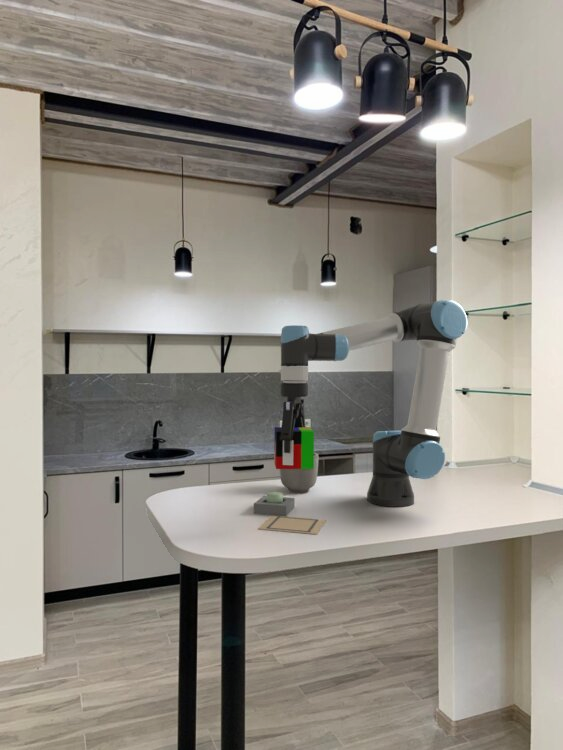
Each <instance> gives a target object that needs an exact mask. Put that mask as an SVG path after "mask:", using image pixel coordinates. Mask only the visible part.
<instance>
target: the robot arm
mask: <svg viewBox="0 0 563 750" xmlns="http://www.w3.org/2000/svg"><path fill="white" fill-rule="evenodd" d="M467 317H468V316H467V314H466V312H465V310H464V308H463V307H462V306H461V304H459V303H458V302H456V301H455V300H451V299H449V300H448V299H447V300H443V299H440V300H435V301H433V302H432V301H431V302H426V303H419V304H415V305H412V306H409V307H406V308H405V309H402V310H398V311H395V312H391V313H388V315H386V317H382V318H379V319H378V318H377V319H375V320H368V321H365V322H361V323H357V324H353V325H348V326H343V327H340V328H336V329H331V330H327V331H323V332H319V333H318V332H317V333H310V331H309V327H308V326H306V325H284V326H283V327H282V328H281V333H280V369H278V373H279V374H280V381H282V382H281V383H280V397H286V398H287V399H286V401H284V402H283V405H282V406H283V408H282V409H283V411H282V419H281V420H282V422H281V427H282V428H281V436H280V440H283V465H293V440H292V439H293V432H294V427H306V418H305V417H306V416H305V400H304V399H303V398H306V397H308V395H309V384H308V381H309V362H311V361H312V362H313V361H314V362H317V361H318V362H338V361H339V362H341V361H344V360H345V359H347V357H348V356H349V353H350V352H351V351H355V350H358V349H359V350H360V349H362V348H366V347H370V346H374V345H379V344H383V343H387V342H391V341H392V342H394V343H399V342H400V343H401V342H405V341H415V342H416V344H417V345H418V347H419V355H418V360H417V361H418V362H417V366H416V372H415V373H416V374H415V377H414V385H413V388H412V389H413V391H412V397H411V401H410V407H409V414H408V420H407V424H406V425H405V426H404V427H402V428H401V430H384V431H383V430H381V431H380V430H379V431H376V432H375V433H373V438H372V476H371V477H372V478H371V481H370V482H369V486H368V489H367V492H366V500H367V502H369V503H370V504H374V505H377V506H384V507H406V506H410V505H413V504H414V503H415V493H414V491H413V486H412V483H411V480H410V477H411V478H413V479H420V480H429V479H432V478H434V477H435V476H436V475H438V474H439V473H440V472H441V470H442V469H443V467H444V464H445V459H446V453H445V451H444V449H443V447H442V445H441V444H440V440H441V435H440V433H439V432H438V431H437V429H438V427H437V426H438V421H439V415H440V411H441V403H442V398H443V397H442V396H443V391H444V386H445V385H444V384H445V381H446V380H445V379H446V374H447V366H448V361H449V356H450V352H452V350H454V349H455V348H456V344H457V339H459V338H460V337H462V335H464V334H465V333H466V331H467V328H468V318H467ZM301 398H302V399H301Z"/></svg>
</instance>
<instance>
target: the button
mask: <svg viewBox="0 0 563 750" xmlns="http://www.w3.org/2000/svg"><path fill="white" fill-rule="evenodd" d="M265 496H266V503H278V504H282V503H283V497H284V493H283V492H281V491H280V492H279V491H269V492H266V495H265Z"/></svg>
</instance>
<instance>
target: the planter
mask: <svg viewBox="0 0 563 750" xmlns="http://www.w3.org/2000/svg"><path fill="white" fill-rule="evenodd" d="M319 459H320V456H319V454H318V453H317V452H314V469H279V476H280V482H281V484H282V486H284V487H285V488H286V489H287V490H288V491H289V493H293V494H304V493H308V492H310V489H312V488H313V487H314V486H315V484H316V483H317V478H318V473H319V461H320V460H319Z"/></svg>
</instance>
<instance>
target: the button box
mask: <svg viewBox="0 0 563 750" xmlns="http://www.w3.org/2000/svg"><path fill="white" fill-rule="evenodd" d="M266 496H267V495H262V496H261V497H260V498H259V499H257V501H255V502H254V503H253V514H256V515H257V514H258V515H267V516H268V515H270V516H272V515H273V516H285V517H288V515H289V514H290V513H291V512H292V511H293V510H294V509H295V504H296V502H295V501H296V499H295V497H286V496H283V503H282V504H278V503H266Z"/></svg>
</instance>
